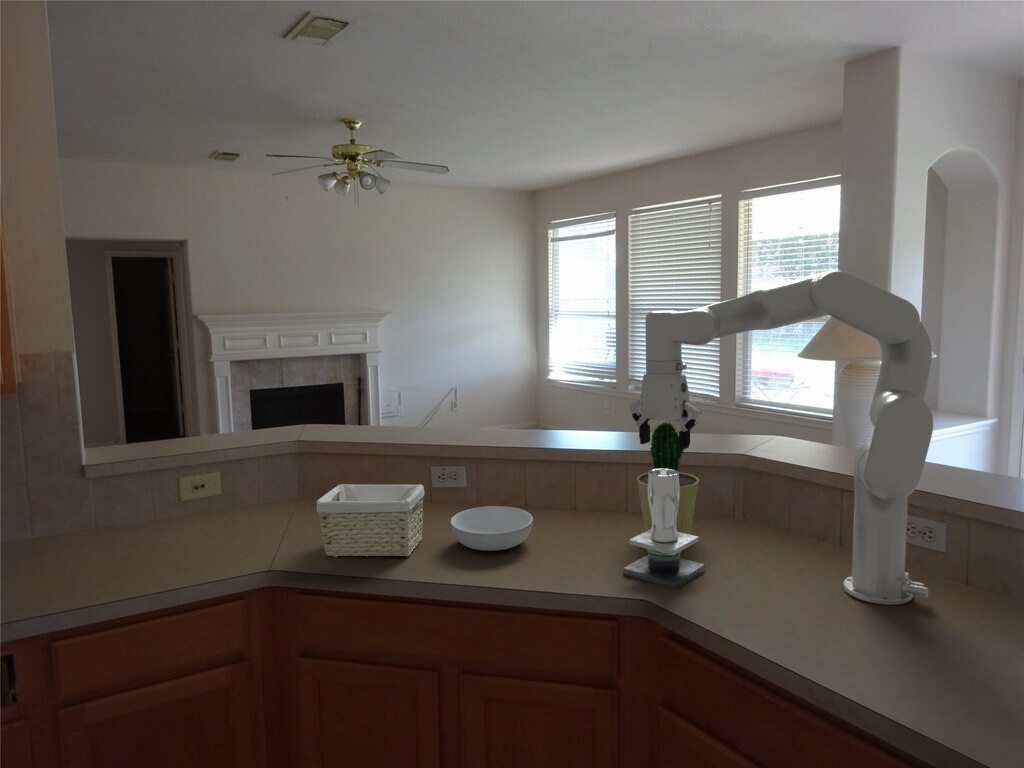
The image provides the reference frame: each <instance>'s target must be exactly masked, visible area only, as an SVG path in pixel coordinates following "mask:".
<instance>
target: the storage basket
mask: <svg viewBox="0 0 1024 768" xmlns="http://www.w3.org/2000/svg"><path fill="white" fill-rule="evenodd" d="M425 494H426V493H425V486H424V485H423V484H353V483H352V484H346V483H342V484H337V486H335V487H334V488H332V489H331V490H329V491H328V492H327V493H326V494H324V495H323V496H321V497H320V498H319V499H317V500H316V512H317V513H318V515H319V522H320V524H319V525H320V527H321V528H320V533H321V536H322V542H323V549H324V554H325V553H326V554H343V555H344V554H347V555H348V554H351V555H378V556H380V555H383V556H406V557H409V556H411V555H412V553H413V552H414V550H415V549H416V547H415V546H417V547H418V545H419V543H420V542H421V540H422V539H423V523H424V522H423V519H424V518H423V515H424V513H423V505H424V496H425ZM419 541H420V542H419ZM418 542H419V543H418ZM417 544H418V545H417ZM414 548H415V549H414ZM413 549H414V550H413ZM412 551H413V552H412ZM411 552H412V553H411Z"/></svg>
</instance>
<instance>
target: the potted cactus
mask: <svg viewBox="0 0 1024 768" xmlns="http://www.w3.org/2000/svg"><path fill="white" fill-rule="evenodd" d="M675 424H676V423H674V424H673V423H671V421H668V422H667V421H663V422H662V423H660V421H658V424H657V425H656V424H655V426H654V429H653V430H652V431H651V430H650V436H651V439H650V442H649V445H650V447H649V450H647V452H650V453H648V455H651V457H652V458H651V459H650V461H651V463H653V464H652V468H653V469H673V470H676V471H678V472H679V471H681V467H680V466H683V464H681V463H682V460H681V459H682V456H683V455H684V453H685V449H683V450H680V449H679V431H677V425H675ZM679 469H680V470H679ZM636 479H637V488H638V495H639V501H640V506H641V513H642V521H643V527H644V532H646V531H648V530H650V529H652V517H651V511H650V506H649V500H648V472H646V473H643V474H641V475H639V476H638V477H637V478H636ZM699 482H700V479H699V477H696V476H695V475H692V474H689V473H686V472H679V484H680V499H679V506H678V512H677V519H676V526H677V532H680V533H685V534H689V535H692V534H691V533H692V527H693V526H692V525H693V520H694V515H695V514H694V513H695V512H694V511H695V506H696V500H697V494H698V489H699V488H698V487H699Z"/></svg>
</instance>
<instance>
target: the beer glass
mask: <svg viewBox="0 0 1024 768" xmlns="http://www.w3.org/2000/svg"><path fill="white" fill-rule="evenodd" d="M647 473H648V500H649V506H650V511H651V517H652V529H651V536H650V537H651V539H652V540H654V541H657V542H674V541H676V540H678V532H677V526H676V519H677V512H678V506H679V499H680V484H679V473H680V472H679V470H678V471H676V470H673V469H654V468H652V469H651V470H648V472H647Z"/></svg>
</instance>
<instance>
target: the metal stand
mask: <svg viewBox="0 0 1024 768" xmlns="http://www.w3.org/2000/svg"><path fill="white" fill-rule="evenodd" d="M650 536H651V529H650V530H648V531H646V532H645V531H644V532H642V533H640V534H638V535H636V536H634V537H632V538H630V539H629V541H628V543H629V545H631V546H636V547H640V548H643V549H646V551H647V555H644V556H643V557H641V558H640V559H637V560H635V561H633V562H632V563H630V564H627V565H626V566H625V567H623V568H622V571H623V573H622V574H625V575H624V576H627V575H628V577H630V576H631V578H634V579H637V578H638V580H640V579H641V581H644V580H645V581H644V582H647V583H650V582H651V584H655V585H657V584H658V585H657V586H661V587H665V588H668V589H672V590H674V591H675V590H677V589H678V588H680V587H682V586H683V585H684V584H686V583H688V582H689V581H691V580H693V579H694V578H696V577H697V576H699V575H700V574H702V573H703V572H706V568H705V566H706V565H705V564H704V563H701V562H697V561H693V560H689V559H685V558H682V557H681V553H682V551H684V550H685V549H687V548H689V547H690V546H691V547H692V545H694V544H696V543H698V542H699V541H700V540H699V536H696V535H692V534H690V535H689V534H685V533H680V532H678V540H676V541H674V542H657V541H654V540H652V539H651V537H650Z"/></svg>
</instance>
